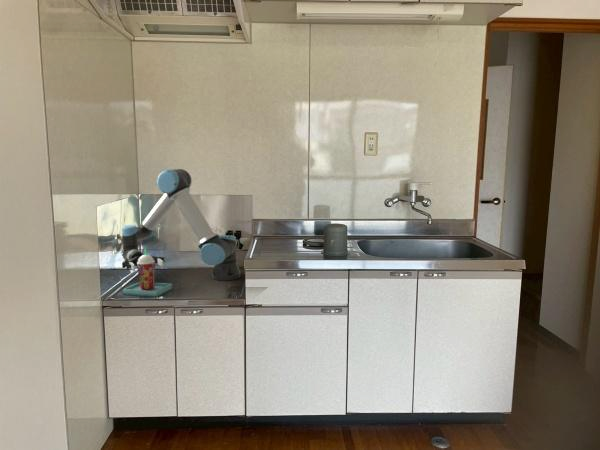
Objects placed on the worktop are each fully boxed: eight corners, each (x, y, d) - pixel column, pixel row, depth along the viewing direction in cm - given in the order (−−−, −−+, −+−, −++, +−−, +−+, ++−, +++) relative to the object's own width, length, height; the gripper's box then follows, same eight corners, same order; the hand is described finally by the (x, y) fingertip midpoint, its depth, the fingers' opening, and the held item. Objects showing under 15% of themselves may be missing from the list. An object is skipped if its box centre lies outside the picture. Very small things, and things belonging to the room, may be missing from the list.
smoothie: (159, 287, 225) (157, 247, 222) (151, 292, 217) (148, 250, 214) (144, 286, 226) (141, 247, 224) (135, 291, 218) (132, 250, 216)
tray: (172, 288, 226) (171, 283, 226) (156, 296, 213) (156, 291, 212) (140, 286, 231) (140, 281, 231) (123, 294, 217) (122, 289, 217)
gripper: (160, 261, 242) (174, 269, 225) (111, 268, 228) (121, 277, 211) (159, 248, 241) (173, 254, 224) (110, 253, 227) (120, 261, 210)
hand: (148, 265), depth 217 cm, fingers open, 13 cm apart
